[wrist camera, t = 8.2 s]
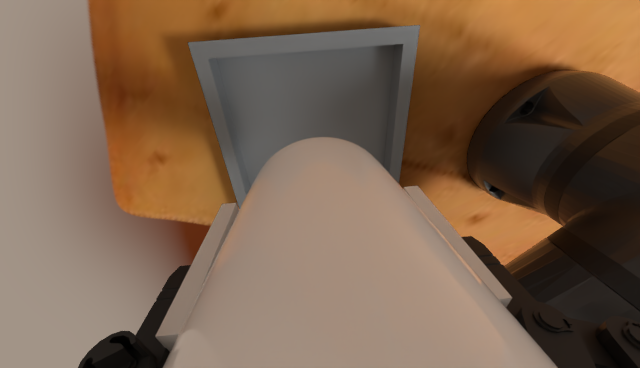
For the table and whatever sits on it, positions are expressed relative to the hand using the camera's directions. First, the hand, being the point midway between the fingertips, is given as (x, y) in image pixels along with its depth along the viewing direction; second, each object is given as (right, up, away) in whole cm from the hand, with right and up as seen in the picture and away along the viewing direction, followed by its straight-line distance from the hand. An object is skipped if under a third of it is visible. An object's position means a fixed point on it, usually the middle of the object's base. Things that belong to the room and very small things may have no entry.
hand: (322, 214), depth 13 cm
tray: (-1, +7, +12) cm, 14 cm away
